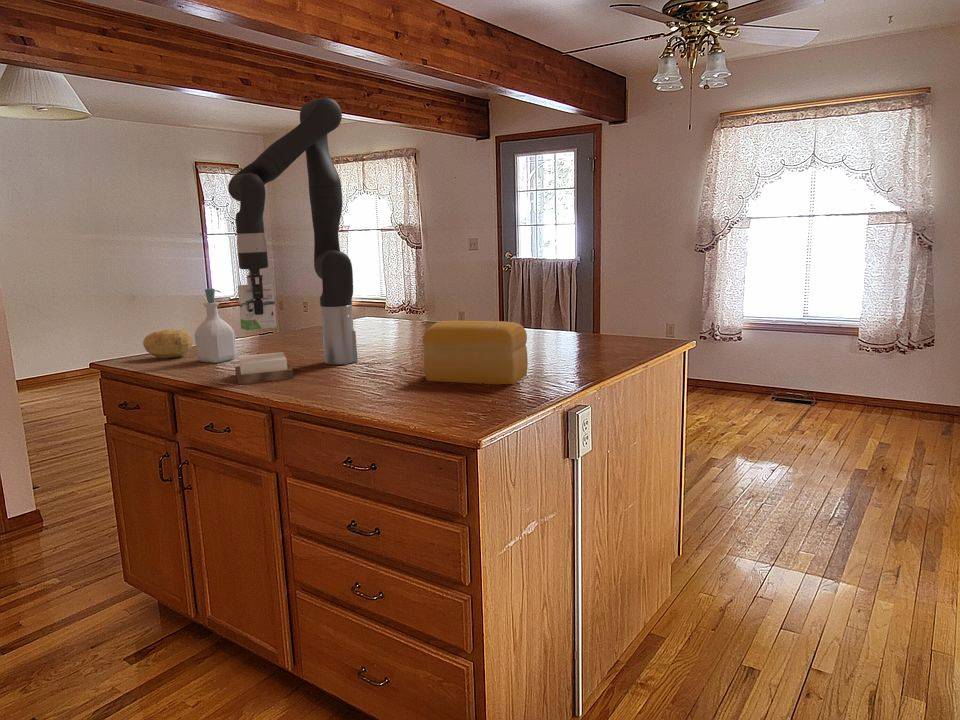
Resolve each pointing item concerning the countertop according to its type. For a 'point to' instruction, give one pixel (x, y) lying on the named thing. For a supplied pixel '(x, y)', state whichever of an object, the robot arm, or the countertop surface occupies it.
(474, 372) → the bread
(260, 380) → the walnut slab
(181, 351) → the potato
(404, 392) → the countertop surface
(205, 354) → the soap bottle
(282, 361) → the cream slab
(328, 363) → the robot arm
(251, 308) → the ink box
